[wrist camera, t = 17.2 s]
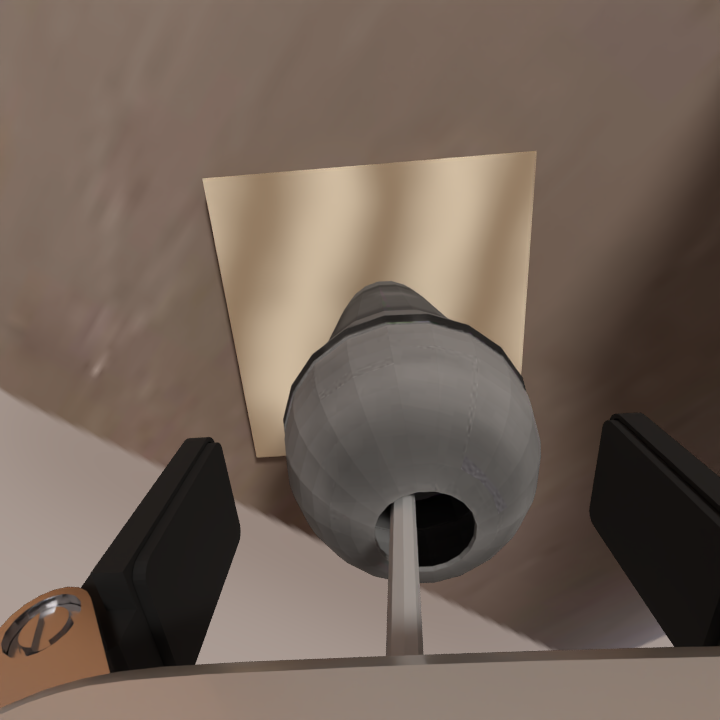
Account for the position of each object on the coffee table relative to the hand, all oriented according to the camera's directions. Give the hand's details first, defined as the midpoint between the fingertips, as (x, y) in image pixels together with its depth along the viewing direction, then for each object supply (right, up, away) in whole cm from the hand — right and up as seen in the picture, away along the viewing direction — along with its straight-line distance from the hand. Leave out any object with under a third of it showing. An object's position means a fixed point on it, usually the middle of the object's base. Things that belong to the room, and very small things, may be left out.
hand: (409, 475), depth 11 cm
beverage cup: (0, +5, +13) cm, 14 cm away
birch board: (0, +5, +14) cm, 15 cm away
